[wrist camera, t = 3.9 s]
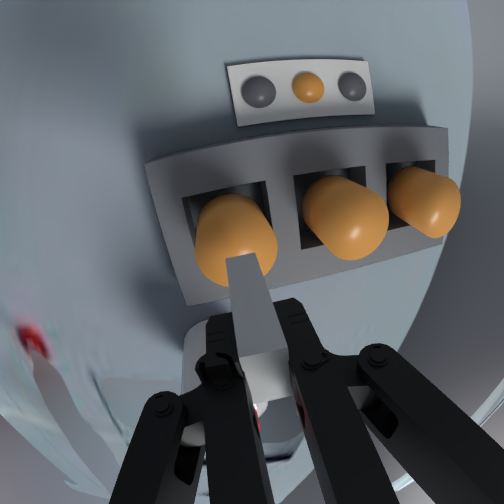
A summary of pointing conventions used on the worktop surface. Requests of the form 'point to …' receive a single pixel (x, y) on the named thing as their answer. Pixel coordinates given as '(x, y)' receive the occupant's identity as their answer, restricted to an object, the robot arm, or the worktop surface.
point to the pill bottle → (191, 354)
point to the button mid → (345, 216)
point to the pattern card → (299, 89)
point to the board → (290, 194)
